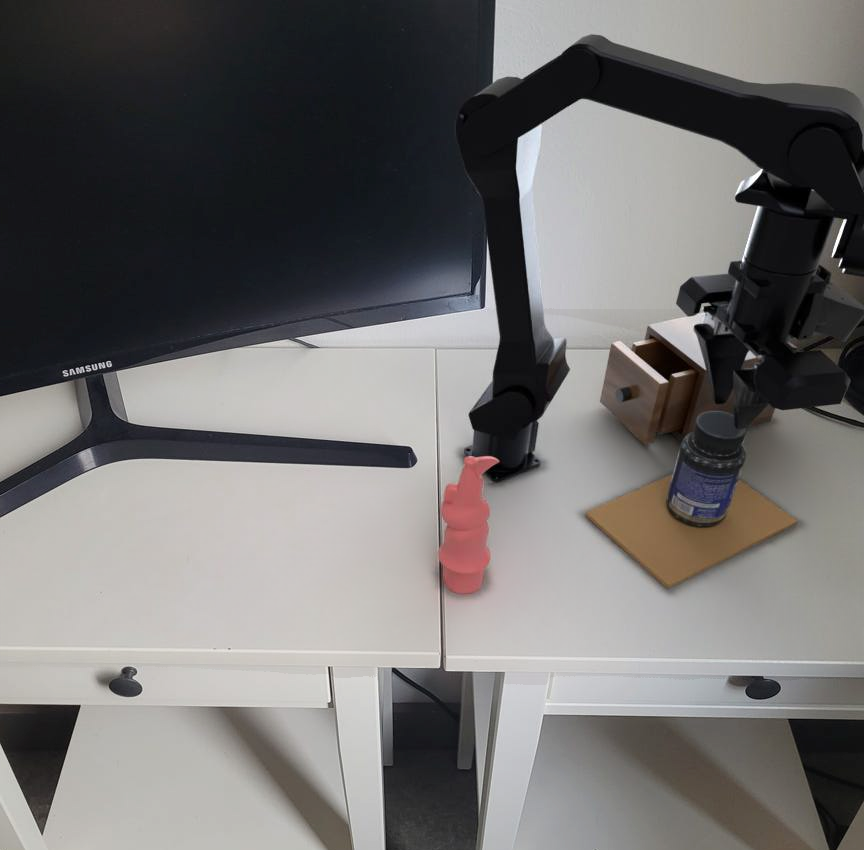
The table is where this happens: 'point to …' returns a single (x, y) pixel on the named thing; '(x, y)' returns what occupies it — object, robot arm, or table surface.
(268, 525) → the table surface
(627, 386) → the drawer
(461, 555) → the figurine
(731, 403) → the cabinet
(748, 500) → the mat
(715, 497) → the pill bottle
